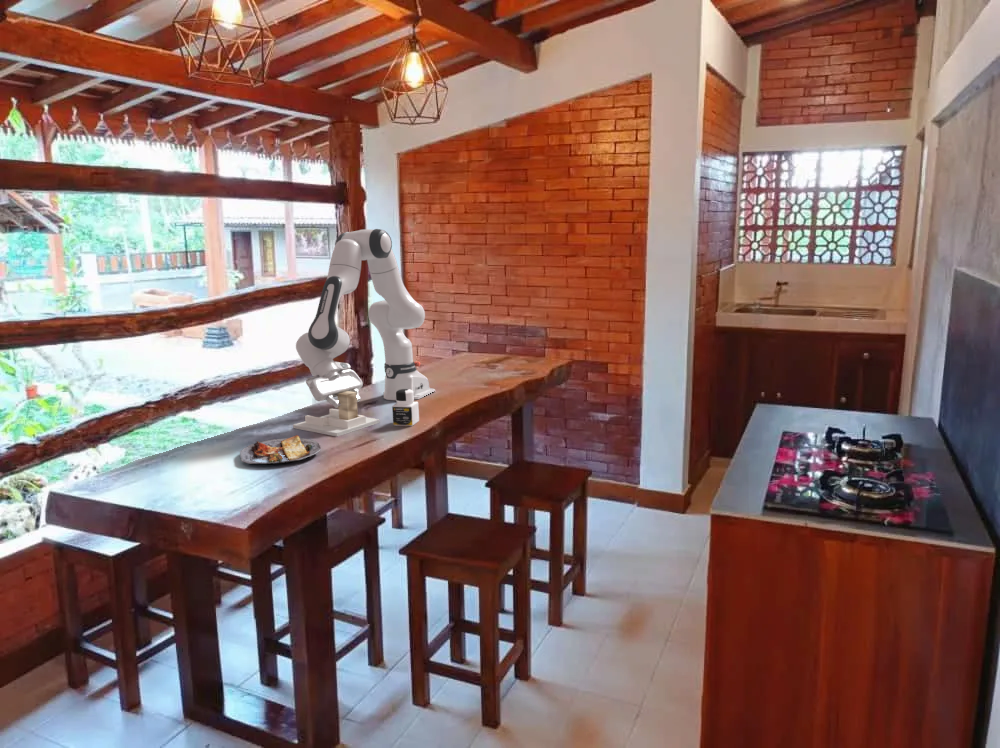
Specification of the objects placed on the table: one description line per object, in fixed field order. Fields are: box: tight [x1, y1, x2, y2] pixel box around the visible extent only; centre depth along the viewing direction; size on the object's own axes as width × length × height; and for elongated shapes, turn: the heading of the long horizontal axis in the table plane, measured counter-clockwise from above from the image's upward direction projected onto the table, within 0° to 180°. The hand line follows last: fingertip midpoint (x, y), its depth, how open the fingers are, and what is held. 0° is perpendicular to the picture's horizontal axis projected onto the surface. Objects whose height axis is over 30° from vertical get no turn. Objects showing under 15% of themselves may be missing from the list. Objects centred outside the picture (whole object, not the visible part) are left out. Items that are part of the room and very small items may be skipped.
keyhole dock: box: [292, 408, 381, 438], centre depth 257 cm, size 20×22×4 cm
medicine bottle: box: [391, 389, 420, 427], centre depth 256 cm, size 7×7×12 cm
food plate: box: [239, 434, 321, 465], centre depth 225 cm, size 25×23×4 cm
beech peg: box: [337, 391, 359, 420], centre depth 253 cm, size 4×4×11 cm
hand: (348, 403), depth 252 cm, fingers open, 8 cm apart
